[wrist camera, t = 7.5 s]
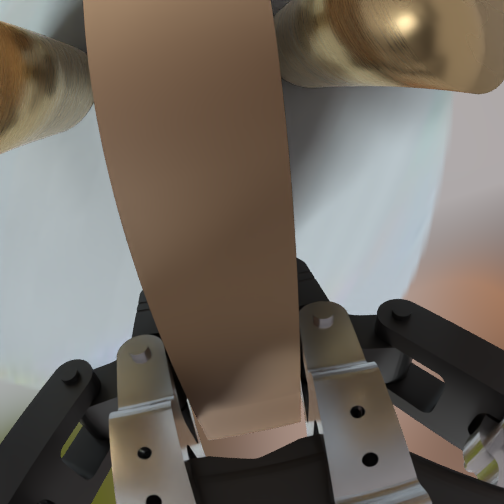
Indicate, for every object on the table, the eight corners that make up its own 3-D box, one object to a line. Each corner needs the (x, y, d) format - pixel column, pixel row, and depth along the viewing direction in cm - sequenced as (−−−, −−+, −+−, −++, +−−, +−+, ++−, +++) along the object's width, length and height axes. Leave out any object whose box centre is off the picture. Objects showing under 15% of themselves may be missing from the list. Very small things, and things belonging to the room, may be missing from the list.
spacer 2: (267, 90, 12) (395, 83, 4) (257, 6, 10) (358, -101, 2) (352, 87, 12) (518, 104, 5) (343, 9, 11) (495, -41, 3)
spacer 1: (27, 144, 11) (-116, 219, 3) (15, 65, 9) (-133, 68, 1) (103, 119, 11) (-27, 162, 3) (92, 34, 9) (-32, -32, 1)
